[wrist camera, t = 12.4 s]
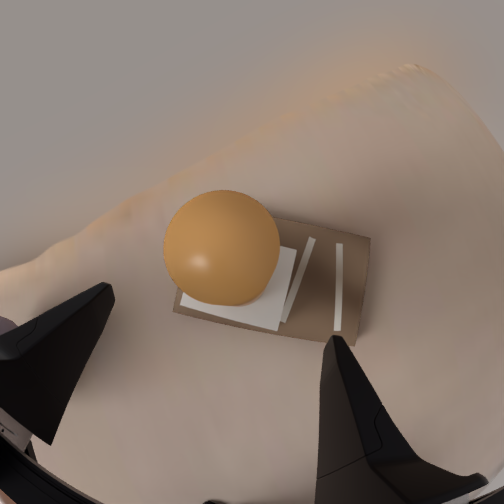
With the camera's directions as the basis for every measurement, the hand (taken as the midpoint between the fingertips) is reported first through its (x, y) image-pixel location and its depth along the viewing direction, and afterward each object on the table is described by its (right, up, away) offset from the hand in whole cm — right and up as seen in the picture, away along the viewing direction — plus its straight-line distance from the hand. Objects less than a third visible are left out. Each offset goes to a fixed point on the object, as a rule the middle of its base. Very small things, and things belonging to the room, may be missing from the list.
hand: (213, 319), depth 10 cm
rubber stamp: (+1, +1, +9) cm, 9 cm away
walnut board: (+3, +1, +10) cm, 11 cm away
